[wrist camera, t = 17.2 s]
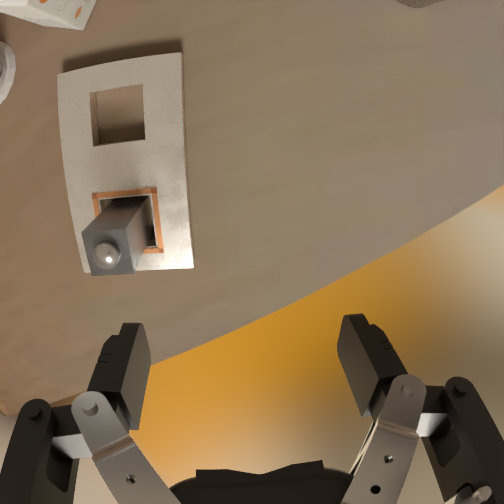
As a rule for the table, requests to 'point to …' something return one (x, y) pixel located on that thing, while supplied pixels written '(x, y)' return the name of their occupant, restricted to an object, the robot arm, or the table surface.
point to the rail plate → (130, 153)
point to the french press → (6, 69)
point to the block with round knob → (118, 237)
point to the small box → (51, 12)
